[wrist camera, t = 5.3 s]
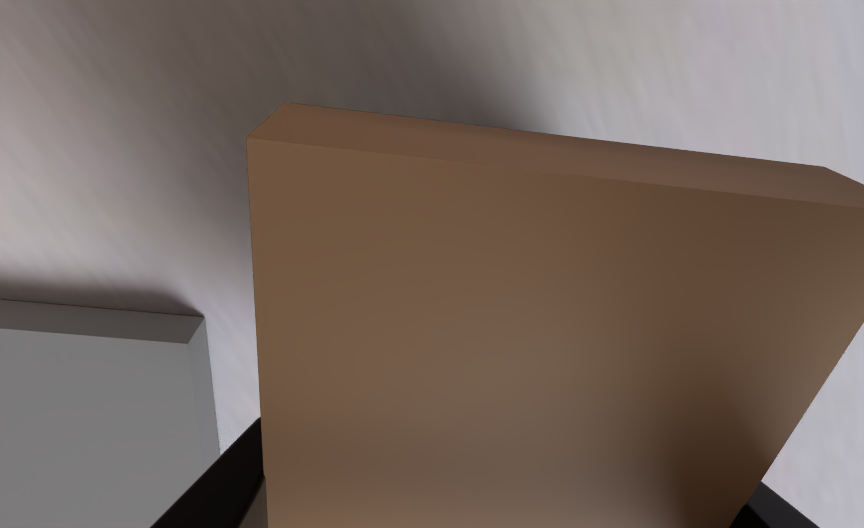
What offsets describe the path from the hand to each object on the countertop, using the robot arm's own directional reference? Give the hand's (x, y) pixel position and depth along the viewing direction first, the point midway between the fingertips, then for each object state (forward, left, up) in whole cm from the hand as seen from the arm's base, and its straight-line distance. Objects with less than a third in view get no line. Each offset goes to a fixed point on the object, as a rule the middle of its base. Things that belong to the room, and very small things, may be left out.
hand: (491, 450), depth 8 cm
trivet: (-8, +12, -6) cm, 16 cm away
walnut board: (0, 0, 0) cm, 0 cm away
